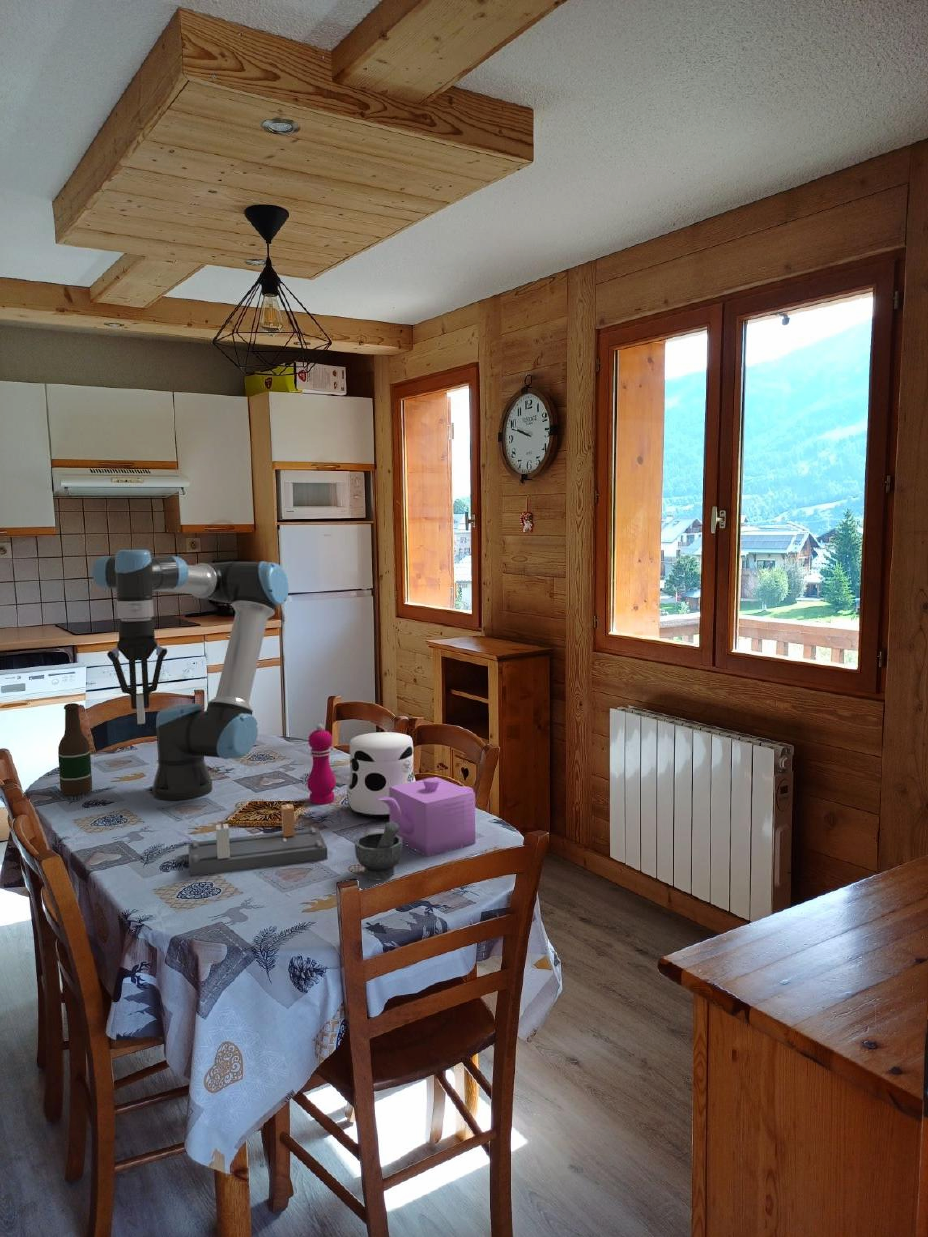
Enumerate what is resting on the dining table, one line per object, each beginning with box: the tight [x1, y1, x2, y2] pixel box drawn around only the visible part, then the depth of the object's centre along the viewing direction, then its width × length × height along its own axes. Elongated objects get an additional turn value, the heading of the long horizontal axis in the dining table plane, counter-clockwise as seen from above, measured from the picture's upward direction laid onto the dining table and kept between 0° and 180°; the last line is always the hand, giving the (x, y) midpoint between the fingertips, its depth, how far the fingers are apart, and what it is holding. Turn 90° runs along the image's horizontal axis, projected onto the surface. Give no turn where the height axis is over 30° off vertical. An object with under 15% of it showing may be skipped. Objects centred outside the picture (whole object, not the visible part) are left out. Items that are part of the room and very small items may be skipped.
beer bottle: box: [57, 702, 93, 797], centre depth 236 cm, size 8×8×24 cm
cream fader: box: [215, 823, 230, 859], centre depth 183 cm, size 3×2×6 cm
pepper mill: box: [306, 723, 337, 805], centre depth 227 cm, size 7×7×20 cm
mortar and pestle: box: [354, 821, 403, 880], centre depth 179 cm, size 11×9×12 cm
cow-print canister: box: [346, 731, 417, 818], centre depth 218 cm, size 17×17×18 cm
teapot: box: [378, 776, 476, 857], centre depth 198 cm, size 15×25×14 cm, turn 126°
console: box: [187, 826, 328, 877], centre depth 190 cm, size 13×28×3 cm, turn 108°
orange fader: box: [280, 803, 296, 837], centre depth 196 cm, size 3×2×6 cm
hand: (141, 722), depth 201 cm, fingers closed
